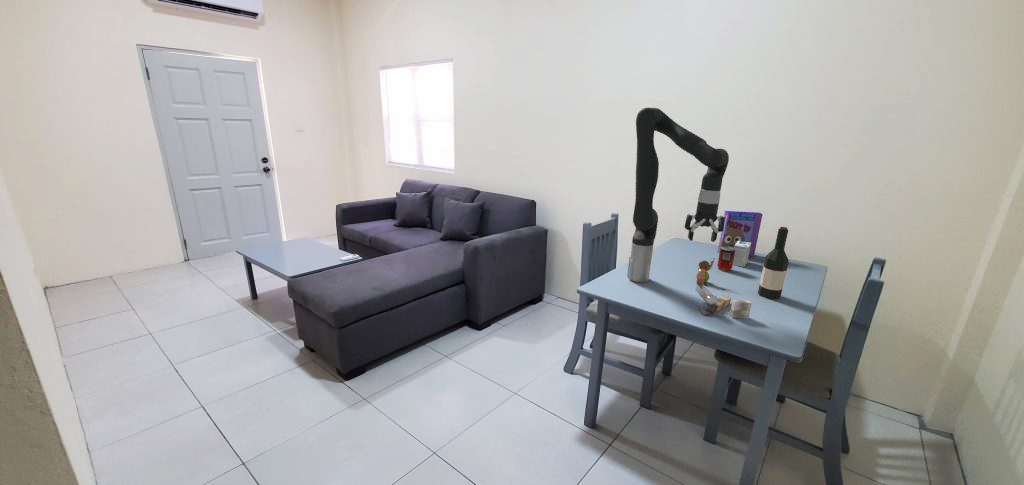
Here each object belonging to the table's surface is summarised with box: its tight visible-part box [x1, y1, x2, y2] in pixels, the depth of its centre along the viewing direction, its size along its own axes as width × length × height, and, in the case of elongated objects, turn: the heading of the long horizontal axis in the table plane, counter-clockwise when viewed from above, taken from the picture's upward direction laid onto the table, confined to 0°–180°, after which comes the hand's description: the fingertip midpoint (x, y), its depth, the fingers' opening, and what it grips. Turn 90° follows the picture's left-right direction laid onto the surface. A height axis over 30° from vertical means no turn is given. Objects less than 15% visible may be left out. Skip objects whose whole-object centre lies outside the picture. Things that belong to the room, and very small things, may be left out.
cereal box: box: [717, 210, 763, 258], centre depth 225 cm, size 17×5×24 cm, turn 81°
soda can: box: [717, 246, 735, 272], centre depth 203 cm, size 7×7×12 cm
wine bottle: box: [757, 226, 790, 301], centre depth 170 cm, size 8×8×30 cm
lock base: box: [698, 295, 753, 319], centre depth 160 cm, size 16×15×6 cm
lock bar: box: [695, 269, 718, 306], centre depth 161 cm, size 16×4×9 cm, turn 175°
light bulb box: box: [733, 241, 751, 268], centre depth 212 cm, size 11×7×11 cm, turn 144°
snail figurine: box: [695, 257, 715, 283], centre depth 186 cm, size 5×6×12 cm
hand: (701, 240), depth 165 cm, fingers open, 8 cm apart
